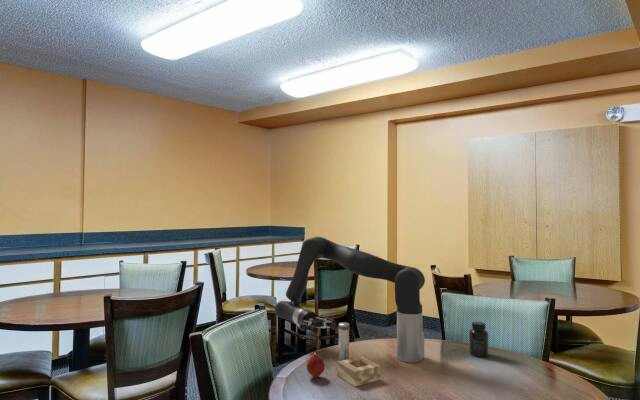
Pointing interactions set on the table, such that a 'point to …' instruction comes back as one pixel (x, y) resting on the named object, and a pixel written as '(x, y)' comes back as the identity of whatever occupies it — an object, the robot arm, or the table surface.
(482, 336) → the supplement bottle
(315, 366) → the onion
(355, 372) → the square ring gauge
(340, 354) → the cylinder
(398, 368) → the table surface
